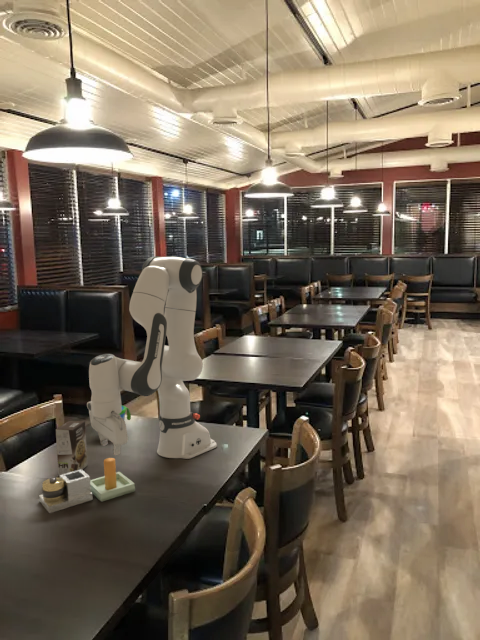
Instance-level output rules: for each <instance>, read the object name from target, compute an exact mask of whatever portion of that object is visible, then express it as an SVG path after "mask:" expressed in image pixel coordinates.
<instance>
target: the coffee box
mask: <svg viewBox="0 0 480 640" xmlns="http://www.w3.org/2000/svg"><path fill="white" fill-rule="evenodd" d="M86 433H87V432H86V421H85V420H82V421H81V420H68V421H66V422H64V423H62V425H60V426H59V427H57V428H55V438H56V456H57V458H56V459H57V474H58V476H60V475H62V474H65V473H69V472H73V471H76V470H80V469H82V470H83V469H85V468H86V467H87V466H88V453H87V452H88V451H87V450H88V449H87V436H86V435H87V434H86Z"/></svg>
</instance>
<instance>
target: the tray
mask: <svg viewBox="0 0 480 640" xmlns="http://www.w3.org/2000/svg"><path fill="white" fill-rule="evenodd" d="M116 484H117V487H116V488H114V489H110V490H106V489H105V475H103V476H99V477H97V478H93V479H90V485H91V493H92V495H94V496H95V497H96V498H97V499H98V500H99V501H100V502H105V501H109V500H112V499H115V498H118V497H121V496H123V495H124V496H125V495H127V494H131V493H133V492H135V491H136V486H135V485H136V483H135V482H133V481H132V480H131V479H130V478H128V477H127V476H126V475H124V474H123V472H121V471H116Z"/></svg>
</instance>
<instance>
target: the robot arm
mask: <svg viewBox="0 0 480 640" xmlns="http://www.w3.org/2000/svg"><path fill="white" fill-rule="evenodd" d="M203 272H204V271H203V268H202V265H201V263H200V262H199V261H198V260H195V259H193V258H190V257H189V258H184V257H180V256H157V255H156V256H150V257H148V258H147V259H146V260H145V262H144V263H143V265H142V268H141V273H140V274H139V276H138V279H137V281H136V282H135V286H134V288H133V290H132V291H133V292H132V294H131V297H130V300H129V306H128V307H129V313H130V315H131V317H132V319H133V320H134V321H135V322H136V323H138V324H139V325H141V327H143V328H144V330H145V331H146V336H147V337H146V344H145V348H144V349H145V350H144V354H143V359H142V361H137V360H135V361H134V360H132V359H123V358H120V357H117V356H115V355H114V354H112V353H103V354H100V355H96V356H95V357H93V358H92V359H91V360H90V362H89V367H88V378H89V379H88V380H89V388H90V390H91V397H90V401H88V402H87V403H86V407H87V409H88V414H89V420H90V425H91V428H92V429H93V430H94V431H96V433H97V435H98V438H99V440H100V445H101V446H103V447H105V446H107V445H108V444H109V443H108V441H110V442H111V443H112V444H113V448H112V452H113V453H112V454H113V455H114V456H116V457H117V456H120V454H121V448H122V445H125V444H126V445H127V443H128V441H129V437H128V430H127V424H126V421H125V419H123V418H121V416H120V415H119V414H120V413H121V412H122V407H121V405H122V395H121V392H123V391H126V392H131V393H134V394H136V395H140V396H143V397H149V396H152V395H153V394H155V392H158V400H159V415H158V427H159V440H158V441H159V442H158V445H157V450H156V453H157V455H159V456H160V457H163V458H167V459H168V458H169V459H187V460H188V459H189V460H190V459H193V458H195V457H197V456H199V455H202V454H204V453H207V452H208V451H211V450H213V449H215V448H217V442H216V440H215V439H212V438H211V435H210V432H209V430H208V429H207V428H206V427H205V426H204V425H203V424H202V425H201V424H200V423H199V422H197V421H196V420H198V421H199V420H200V418H201V415H200V414H198V413H197V412H196V413H194V412H192V411H191V397H190V396H191V394H190V391H189V389H188V388H187V387H186V385H185V383H184V382H186V381H195V380H197V379H198V378H199V377H200V375H201V374H202V372H203V368H204V366H203V365H204V364H203V363H204V362H203V359H202V358H201V356H200V355H199V353H198V350H197V347H196V343H195V336H194V335H195V334H194V333H195V332H194V329H195V319H196V313H197V312H196V311H197V288H198V287H199V286H200V284H201V282H202V280H203ZM166 337H167V344H168V345H166Z"/></svg>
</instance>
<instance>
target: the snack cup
mask: <svg viewBox="0 0 480 640" xmlns="http://www.w3.org/2000/svg"><path fill="white" fill-rule="evenodd" d="M121 407H122V412H121V413H120V414H119V415H120V416H121V418H123V419H124V420H125V417H126V420H127V421H130V420H131V419H132V416H131V415H132V414H131V411H130V408H128V407H126V406H125V405H122V404H121Z"/></svg>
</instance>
